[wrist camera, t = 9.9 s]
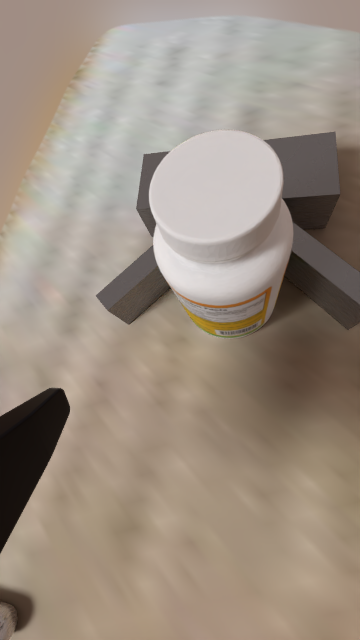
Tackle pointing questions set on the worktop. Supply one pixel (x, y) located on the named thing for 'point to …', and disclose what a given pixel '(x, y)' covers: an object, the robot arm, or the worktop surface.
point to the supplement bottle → (222, 229)
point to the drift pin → (7, 620)
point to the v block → (307, 253)
